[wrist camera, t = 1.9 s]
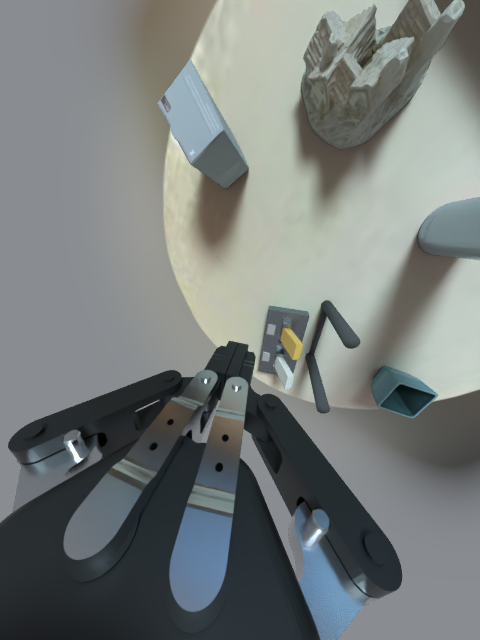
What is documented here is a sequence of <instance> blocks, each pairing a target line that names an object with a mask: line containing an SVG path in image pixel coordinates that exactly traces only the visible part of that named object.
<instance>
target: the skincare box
mask: <svg viewBox="0 0 480 640" xmlns="http://www.w3.org/2000/svg"><path fill="white" fill-rule="evenodd" d="M158 106H159V107H160V109H161V111H162V113H163V115H164V117H165V118H166V120H167V122H168V124H169V126H170V128H171V132H172V135H173V136H174V138H175V139H176V140H177V141H178V142H179V144H180V146H181V148H182V150H183V152H184V154H185V155H186V157H187V159H188V161H189V163H190V164H191V165H192V166H194V167H195V168H196V169H198V170H199V171H201V172H202V173H203V174H205V175H206V176H208V177H209V178H211V179H212V180H213V181H215V182H216V183H217V184H219V185H220V186H222V187H223V188H224V189H226V188H228V187H229V186H230V185H231V184H232V183H233V182H235V181H236V180H237V179H238V178H239V177H240V176H242V175H243V174H244V173H245V172H246V171H247V170H248V169H249V167H248V165H247V163H246V160H245V158H244V156H243V154H242V152H241V150H240V147H239V145H238V143H237V141H236V140H235V138H234V136H233V134H232V132H231V130H230V128H229V127H228V125H227V123H226V122H225V120H224V118H223V116H222V115H221V113H220V111H219V109H218V108H217V106H216V104H215V102H214V101H213V99H212V97H211V95H210V94H209V92H208V90H207V88H206V87H205V85H204V83H203V81H202V80H201V78H200V76H199V74H198V72H197V70H196V68H195V66H194V65H193V63H192V61H191V60H189V62H188V63H187V64H186V66H185V67H184V69H183V70H182V71H181V73H180V74H179V75H178V77H177V78H176V79H175V81H174V82H173V83H172V85H171V86H170V87H169V89H168V90H167V92H166V93H165V94H164V95H163V97H162V98H161V99H160V101H159V102H158Z"/></svg>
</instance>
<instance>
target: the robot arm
mask: <svg viewBox="0 0 480 640" xmlns="http://www.w3.org/2000/svg"><path fill="white" fill-rule="evenodd" d="M418 242H419V245H420V247H421V248H422V250H423V251H425V252H426V253H429V254H433V255H441V256H449V257H457V258H465V259H474V260H480V197H477V198H472V199H467V200H462V201H457V202H452V203H449V204H446V205H444V206H442V207H440V208H438V209H437V210H435V211H434V212H433V213H432V214H431V215H429V216H428V218H427V219H426V220H425V221H424V223H423V224H422V226H421V228H420V231H419V235H418ZM255 358H256V357H255V355H254V353H253V352H249V351H248V345H247V344H242V343H237V342H233V341H229V342H228V344H227V346H226V347H225V346H220V347H219V348H217V349H216V351H215V352H214V354H213V356H212V358H211V359H210V361H209V363H208V364H207V366H206V368H205V369H204V370H203V371H200V372H198V373H197V374H196V375H195V377H183V378H182V377H181V374H180V373H179V372H177V371H174V370H169V371H165V372H162V373H160V374H157V375H155V376H152V377H150V378H147V379H144V380H141V381H139V382H136V383H133V384H131V385H128V386H126V387H123V388H120V389H118V390H115V391H112V392H110V393H107V394H104V395H102V396H99V397H97V398H94V399H91V400H89V401H86V402H83V403H81V404H78V405H75V406H73V407H70V408H68V409H65V410H62V411H60V412H57V413H54V414H52V415H49V416H46V417H44V418H41V419H39V420H36V421H34V422H32V423H30V424H28V425H26V426H25V427H23V428H21V429H20V430H19V431H18V432H17V433H16V434H15V435H14V436H13V437H12V438H11V439H10V441H9V444H8V448H9V450H10V451H11V452H12V453H13V455H14V456H15V457H16V458H17V462H18V463H19V464H20V466H21V469H20V475H19V481H18V486H17V491H16V496H15V502H14V507H13V513H11V514H10V515H9V516H8V517H7V518H5V519H4V520H3V521H2V522H1V523H0V640H337V639H338V638H339V637H340V636H341V634H342V633H343V632H344V630H345V629H346V628H347V626H348V625H349V623H350V622H351V621H352V620H353V618H354V617H355V616H356V614H357V613H358V612H359V610H360V609H361V608H362V607H363V606H365V605H367V604H369V603H371V602H373V601H375V600H377V599H379V598H381V597H383V596H385V595H387V594H389V593H392V592H393V591H395V590H397V589H398V588H399V587H400V585H401V582H402V570H401V565H400V562H399V559H398V556H397V554H396V551H395V550H394V548H393V546H392V544H391V542H390V541H389V539H388V538H387V537H386V535H385V534H384V533H383V531H382V530H381V529H380V528H379V526H378V525H377V524H376V522H375V521H374V520H373V519H372V517H371V516H370V515H369V513H368V512H367V511H366V510H365V508H364V507H363V506H362V505H361V503H360V502H359V501H358V499H357V498H356V497H355V496H354V494H353V493H352V492H351V490H350V489H349V488H348V486H347V485H346V484H345V483H344V481H343V480H342V479H341V477H340V476H339V475H338V474H337V472H336V471H335V470H334V468H333V467H332V466H331V464H330V463H329V462H328V461H327V459H326V458H325V457H324V455H323V454H322V453H321V452H320V450H319V449H318V448H317V446H316V445H315V444H314V443H313V441H312V440H311V439H310V437H309V436H308V435H307V433H306V432H305V431H304V430H303V428H302V427H301V426H300V425H299V423H298V422H297V421H296V420H295V418H294V417H293V416H292V414H291V413H290V412H289V411H288V409H287V408H286V406H285V405H284V404H283V403H282V401H281V400H280V399H279V398H278V397H276V396H275V395H272V394H264V395H262V396H260V395H259V394H257V393H255V392H254V391H253V390H252V388H251V386H250V384H251V379H252V375H253V369H254V364H255ZM157 400H159V401H158V402H156V403H154V404H152V405H150V406H148V407H146V408H144V409H141V410H139V411H137V412H135V411H136V410H138V409H139V408H142V407H144V406H146V405H148V404H150V403H152V402H154V401H157ZM218 400H220V405H219V408H218V410H217V411H216V413H215V416H214V419H213V422H212V426H211V429H210V433H209V436H208V440H207V443H201V440H202V437H203V435H204V433H205V431H206V429H207V427H208V425H209V423H210V420H211V419H212V417H213V414H214V412H215V410H216V405H217V403H218ZM243 429H245V430H246V431H248V432H249V433H251V434H252V439H253V441H254V443H255V445H256V447H257V449H258V451H259V453H260V455H261V457H262V459H263V460H264V463H265V465H266V467H267V469H268V470H269V472H270V474H271V476H272V478H273V480H274V482H275V484H276V486H277V488H278V490H279V492H280V494H281V496H282V498H283V500H284V502H285V504H286V506H287V508H288V510H289V512H290V514H291V516H292V519H291V521H290V523H289V528H288V536H289V541H290V545H291V548H292V551H293V554H294V558H295V563H296V575H295V573H294V570H293V568H292V565H291V563H290V560H289V558H288V556H287V553H286V551H285V548H284V546H283V543H282V541H281V538H280V536H279V534H278V531H277V529H276V526H275V524H274V522H273V519H272V517H271V514H270V512H269V509H268V507H267V504H266V502H265V499H264V497H263V495H262V492H261V490H260V487H259V485H258V483H257V480H256V478H255V476H254V474H253V472H252V471H251V469H250V468H249V466H248V465H247V464H246V463H245V462H244V461H243V460H242V459H241V458H240V453H241V444H242V437H243ZM104 457H105V458H104Z"/></svg>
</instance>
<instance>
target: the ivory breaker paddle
mask: <svg viewBox="0 0 480 640" xmlns="http://www.w3.org/2000/svg"><path fill="white" fill-rule="evenodd" d="M274 367H275V370H276V372H277V374H278V376H279V378H280V380H281V382H282V385H283V387H284V389H291V386H292V383H293V379H294V375H293V373H292V372H291V370H290V368H289V366H288V365H287V363H286V361H285V359H284V358H283V357H279V356H277V357H276V362H275V366H274Z"/></svg>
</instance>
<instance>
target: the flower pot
mask: <svg viewBox="0 0 480 640" xmlns="http://www.w3.org/2000/svg"><path fill="white" fill-rule="evenodd" d="M372 392H373V395H374V398H375V401H376V403H377V406H378V407H379V408H382V409H385V410H388V411H391V412H394V413H397V414H400V415H403V416H406V417H409V418H414V417H415V416H417V415H418V414H419V413H420V412H421V411H422V410H423V409H424V408H425V407H427V406H428V405H429V404H430V403H431V402H432V401H433V400H435V399H436V398H437V397H438V394H437V393H436V392H434V391H433V390H432V389H431V388H429V387H428V386H427V385H426V384H424V383H423V382H422V381H420V380H419V379H417V378H416V377H414V376H412V375H409V374H407V373H404V372H401V371H398V370H395V369H392V368H388V367H382V369H381V370H380V371H379V373H378V374H377V375H376V376H375V377H374V379H373V382H372Z"/></svg>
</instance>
